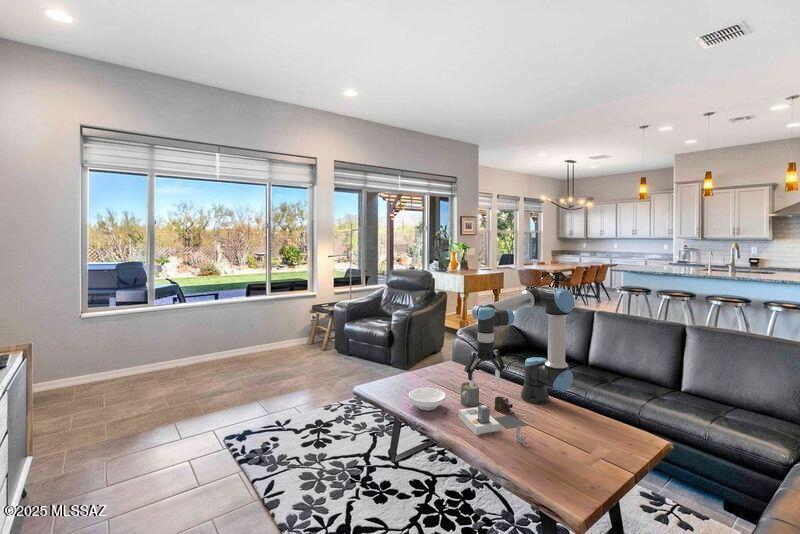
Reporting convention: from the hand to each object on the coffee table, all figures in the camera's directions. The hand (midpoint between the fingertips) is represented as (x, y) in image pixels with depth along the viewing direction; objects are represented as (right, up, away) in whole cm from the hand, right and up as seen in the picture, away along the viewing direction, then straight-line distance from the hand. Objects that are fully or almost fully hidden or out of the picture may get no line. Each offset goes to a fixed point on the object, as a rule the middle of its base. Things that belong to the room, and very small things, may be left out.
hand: (484, 385), depth 186 cm
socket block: (-2, -21, +6) cm, 22 cm away
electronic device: (+15, -20, +20) cm, 32 cm away
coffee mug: (-3, -19, +30) cm, 36 cm away
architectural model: (+19, -23, -9) cm, 31 cm away
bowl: (-25, -20, +25) cm, 41 cm away
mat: (+14, -21, +8) cm, 27 cm away
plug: (0, -21, +2) cm, 21 cm away
